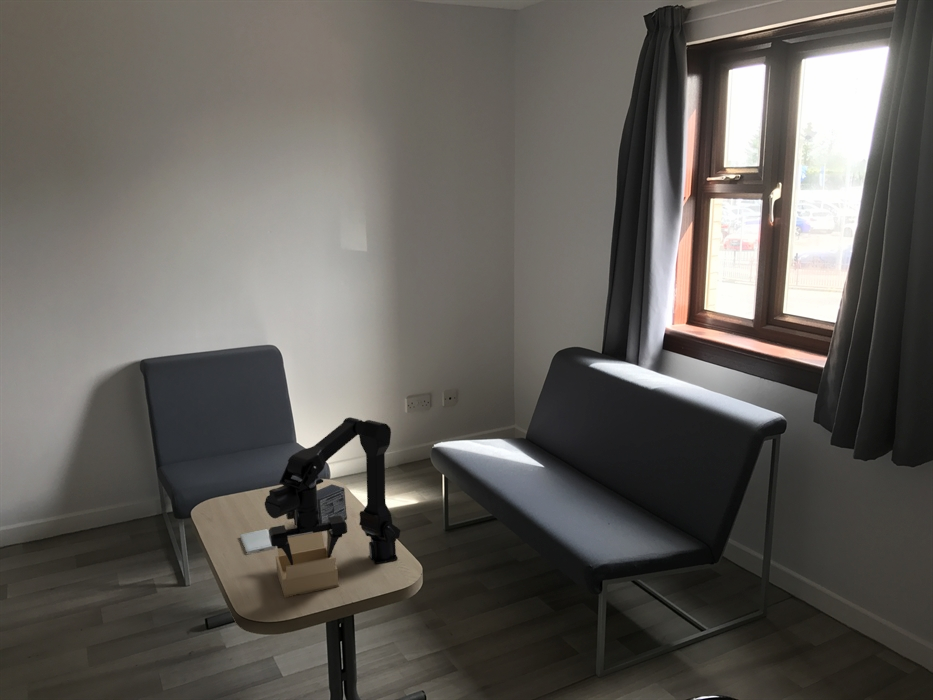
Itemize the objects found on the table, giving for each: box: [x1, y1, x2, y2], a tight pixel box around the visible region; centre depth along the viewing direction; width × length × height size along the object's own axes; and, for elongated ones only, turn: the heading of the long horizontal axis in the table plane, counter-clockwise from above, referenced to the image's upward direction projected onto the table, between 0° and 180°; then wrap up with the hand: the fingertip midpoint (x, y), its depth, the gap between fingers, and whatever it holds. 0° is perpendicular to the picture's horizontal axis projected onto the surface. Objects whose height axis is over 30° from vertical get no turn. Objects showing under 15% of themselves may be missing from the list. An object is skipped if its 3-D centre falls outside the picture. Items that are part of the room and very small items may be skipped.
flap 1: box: [277, 531, 325, 556], centre depth 215 cm, size 12×6×1 cm
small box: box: [317, 484, 348, 524], centre depth 242 cm, size 11×6×10 cm, turn 141°
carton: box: [275, 546, 340, 598], centre depth 207 cm, size 14×14×5 cm
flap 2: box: [286, 556, 337, 580], centre depth 198 cm, size 12×6×1 cm
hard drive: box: [240, 528, 277, 555], centre depth 230 cm, size 2×8×12 cm
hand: (310, 561), depth 197 cm, fingers open, 9 cm apart
